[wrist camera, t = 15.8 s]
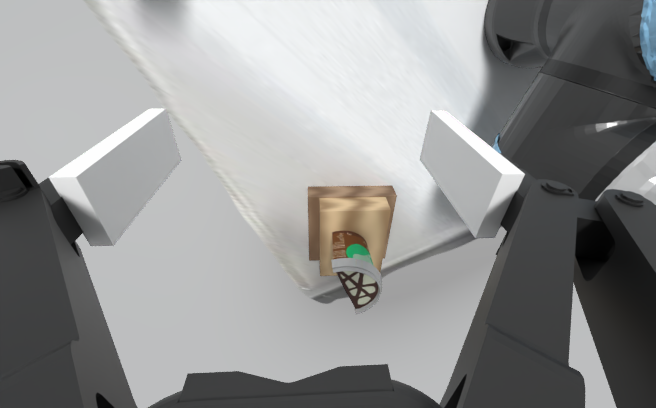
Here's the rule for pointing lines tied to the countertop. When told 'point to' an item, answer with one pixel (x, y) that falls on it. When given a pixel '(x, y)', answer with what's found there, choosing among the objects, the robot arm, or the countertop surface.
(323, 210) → the tower top
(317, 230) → the tower base
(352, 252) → the food container
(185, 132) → the countertop surface
